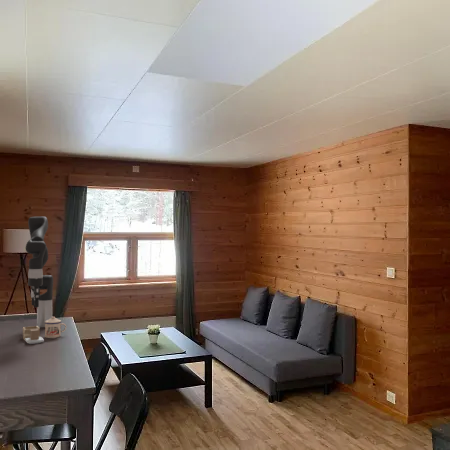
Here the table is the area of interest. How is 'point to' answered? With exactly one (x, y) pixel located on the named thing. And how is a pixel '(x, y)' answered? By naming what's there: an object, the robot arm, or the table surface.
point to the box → (27, 331)
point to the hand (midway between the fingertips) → (35, 306)
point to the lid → (34, 337)
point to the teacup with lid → (53, 328)
